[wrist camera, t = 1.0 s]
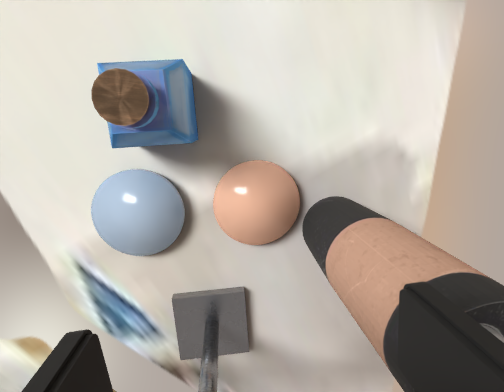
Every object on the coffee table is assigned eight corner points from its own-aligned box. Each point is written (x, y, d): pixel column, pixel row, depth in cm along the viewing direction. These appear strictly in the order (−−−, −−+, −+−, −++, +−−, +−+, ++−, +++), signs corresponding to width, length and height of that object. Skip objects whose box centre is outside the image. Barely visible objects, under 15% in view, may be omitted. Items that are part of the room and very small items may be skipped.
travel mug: (370, 248, 34) (563, 410, 15) (306, 265, 34) (417, 454, 14) (360, 185, 32) (567, 277, 13) (293, 203, 32) (399, 324, 12)
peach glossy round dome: (209, 162, 30) (209, 164, 29) (295, 156, 31) (298, 157, 29) (217, 244, 32) (217, 248, 31) (298, 236, 33) (300, 240, 32)
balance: (94, 302, 32) (-57, 507, 15) (316, 278, 34) (412, 437, 17) (107, 362, 34) (-13, 606, 17) (317, 337, 36) (404, 534, 19)
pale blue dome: (88, 171, 29) (83, 173, 28) (180, 164, 30) (178, 166, 29) (105, 254, 31) (100, 259, 30) (190, 246, 32) (188, 251, 31)
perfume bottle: (135, 143, 29) (75, 155, 17) (125, 77, 27) (51, 40, 16) (198, 139, 29) (181, 148, 18) (191, 73, 28) (168, 36, 16)
